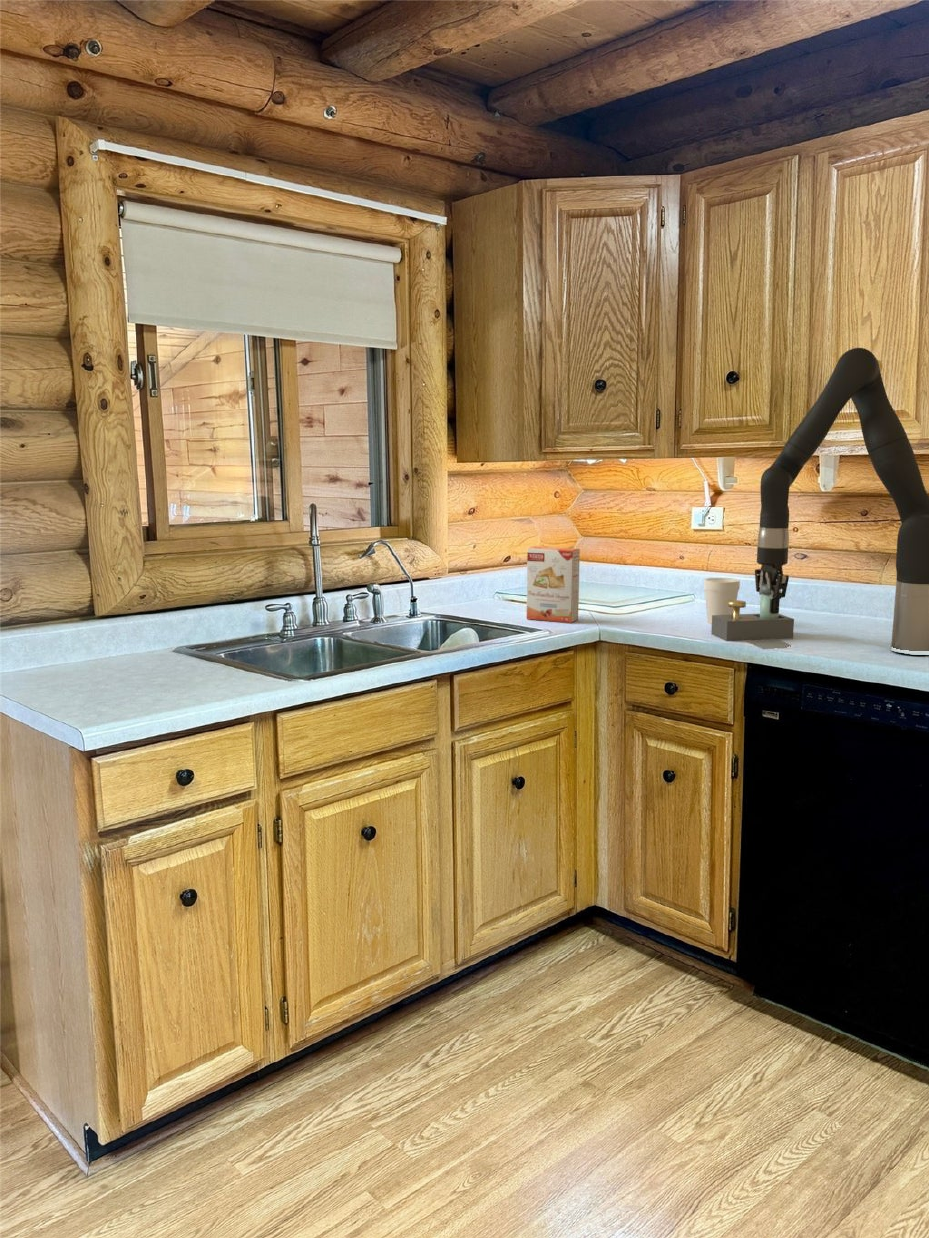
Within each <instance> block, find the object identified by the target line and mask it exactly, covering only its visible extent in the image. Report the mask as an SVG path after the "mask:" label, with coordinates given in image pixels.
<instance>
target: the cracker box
mask: <svg viewBox="0 0 929 1238" xmlns="http://www.w3.org/2000/svg"><path fill="white" fill-rule="evenodd" d="M580 551H581V549H580V548H571V547H558V546H557V547H555V546H537V545H535V546H530V547H527V551H526V552H527V557H526V560H527V563H526V619H527V620H535V621H544V622H555V623H562V624H563V623H564V624H565V623H566V624H572V623H574V622H577V621H578V620H579V602H580V601H579V599H580V598H579V597H580V595H579V594H580V553H581V552H580Z"/></svg>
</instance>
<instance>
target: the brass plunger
mask: <svg viewBox="0 0 929 1238" xmlns="http://www.w3.org/2000/svg"><path fill="white" fill-rule="evenodd" d="M728 607H733V618H734V619H737V618H740V614H741V609H743V608H746V607H747V602H746V601H744V600H739V599H737V600H731V601H728Z"/></svg>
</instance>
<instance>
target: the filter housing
mask: <svg viewBox="0 0 929 1238" xmlns="http://www.w3.org/2000/svg"><path fill="white" fill-rule="evenodd" d="M794 626H795V618H793V617H789V616H786V615H785V614H782V613H779V617H778V619H762V618H760V613H742V614H741V613H740V618H737V619H734V618H733V614H732V615H712V624H711V634H710V635H713V636H714V637H717V638H719V639H721V640H723V641H725V642H736V641H737V642H739V641H770V640H790V639H794V631H795V630H794V629H795V628H794Z"/></svg>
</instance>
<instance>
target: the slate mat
mask: <svg viewBox="0 0 929 1238" xmlns="http://www.w3.org/2000/svg"><path fill="white" fill-rule="evenodd" d="M745 642H746V643H747V644H751V645H752V644H753V646H754V647H757V648H760V649H761V650H769V649H770V650H775V648H777V649H788V648H787V647H789V646H790V647H791V645H792V644H790V643H787V642H785V641H783V640H781V639H770V640H745Z"/></svg>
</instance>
